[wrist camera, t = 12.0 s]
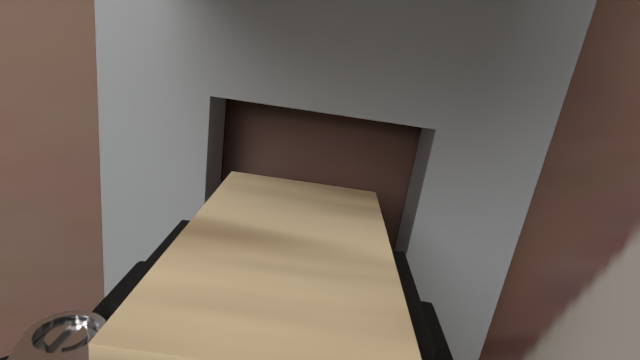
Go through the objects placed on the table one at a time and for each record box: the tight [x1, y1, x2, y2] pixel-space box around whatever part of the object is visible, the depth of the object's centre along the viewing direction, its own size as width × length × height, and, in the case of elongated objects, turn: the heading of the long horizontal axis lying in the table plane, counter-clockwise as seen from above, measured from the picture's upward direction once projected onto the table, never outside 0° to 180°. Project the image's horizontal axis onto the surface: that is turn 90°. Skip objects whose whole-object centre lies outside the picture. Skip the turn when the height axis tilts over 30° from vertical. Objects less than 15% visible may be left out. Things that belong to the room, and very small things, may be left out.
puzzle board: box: [95, 0, 597, 360], centre depth 13 cm, size 24×14×2 cm, turn 172°
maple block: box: [88, 171, 422, 360], centre depth 10 cm, size 4×4×8 cm
